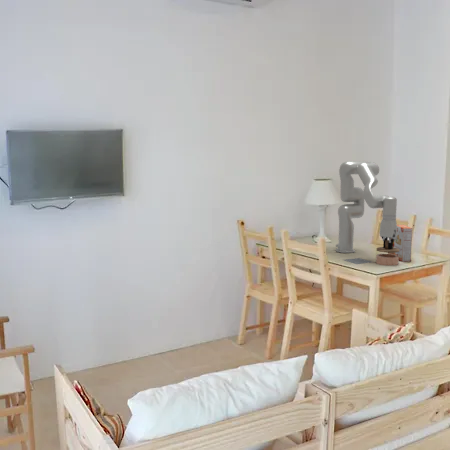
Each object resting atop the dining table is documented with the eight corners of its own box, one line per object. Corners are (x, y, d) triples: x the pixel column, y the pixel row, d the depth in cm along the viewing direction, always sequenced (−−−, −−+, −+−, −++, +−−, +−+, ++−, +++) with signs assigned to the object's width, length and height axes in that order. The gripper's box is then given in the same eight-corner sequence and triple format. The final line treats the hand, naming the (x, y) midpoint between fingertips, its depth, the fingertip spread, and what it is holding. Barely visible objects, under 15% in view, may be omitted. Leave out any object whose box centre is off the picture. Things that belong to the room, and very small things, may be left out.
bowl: (371, 262, 327) (372, 254, 326) (387, 261, 332) (387, 253, 332) (386, 267, 316) (386, 258, 315) (402, 265, 321) (402, 256, 321)
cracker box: (393, 257, 344) (394, 224, 341) (402, 257, 344) (403, 224, 341) (401, 261, 330) (403, 227, 327) (411, 261, 330) (412, 227, 327)
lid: (371, 249, 326) (372, 239, 325) (388, 247, 331) (388, 238, 331) (387, 253, 314) (387, 243, 313) (404, 251, 320) (404, 241, 319)
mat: (342, 260, 332) (342, 259, 332) (359, 258, 338) (359, 258, 338) (356, 265, 321) (356, 264, 321) (373, 263, 327) (373, 262, 326)
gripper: (374, 216, 326) (373, 246, 328) (394, 219, 311) (393, 251, 314) (384, 216, 329) (383, 245, 332) (404, 219, 315) (402, 250, 317)
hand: (387, 248), depth 323 cm, fingers closed on lid, 3 cm apart
